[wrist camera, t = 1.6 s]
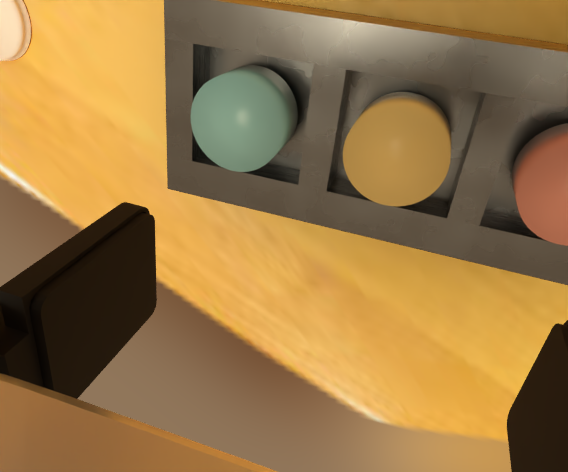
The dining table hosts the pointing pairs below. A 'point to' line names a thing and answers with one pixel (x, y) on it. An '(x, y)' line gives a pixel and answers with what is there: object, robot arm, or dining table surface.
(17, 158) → the dining table surface
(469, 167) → the button panel
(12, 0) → the chess piece
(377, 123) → the mustard button
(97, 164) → the dining table surface
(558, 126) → the brick button
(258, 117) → the teal button
